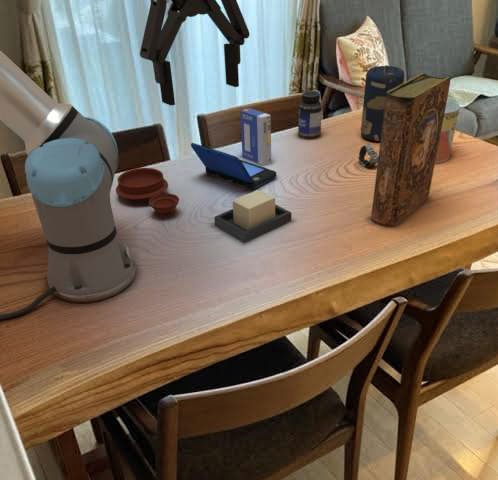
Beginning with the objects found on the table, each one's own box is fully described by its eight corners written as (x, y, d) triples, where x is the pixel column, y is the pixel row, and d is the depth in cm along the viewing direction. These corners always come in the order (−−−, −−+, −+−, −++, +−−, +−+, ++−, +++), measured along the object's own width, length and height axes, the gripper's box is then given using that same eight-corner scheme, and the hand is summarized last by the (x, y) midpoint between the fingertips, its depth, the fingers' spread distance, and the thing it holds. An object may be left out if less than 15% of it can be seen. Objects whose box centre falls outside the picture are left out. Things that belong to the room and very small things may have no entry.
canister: (401, 134, 146) (411, 62, 135) (388, 146, 140) (398, 72, 128) (368, 128, 150) (375, 58, 139) (354, 139, 144) (360, 67, 133)
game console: (279, 177, 127) (279, 139, 121) (240, 198, 120) (238, 158, 114) (231, 161, 136) (229, 124, 130) (192, 179, 128) (188, 141, 122)
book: (392, 229, 107) (411, 99, 91) (367, 221, 110) (382, 93, 94) (428, 198, 117) (451, 76, 101) (405, 191, 120) (424, 71, 104)
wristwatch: (361, 171, 132) (372, 161, 127) (355, 152, 132) (366, 142, 128) (371, 170, 133) (383, 160, 128) (365, 151, 133) (376, 140, 129)
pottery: (154, 179, 129) (152, 162, 126) (197, 210, 116) (195, 191, 113) (109, 193, 124) (105, 175, 121) (148, 227, 111) (144, 208, 108)
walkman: (242, 157, 138) (240, 109, 130) (250, 153, 139) (248, 106, 131) (263, 165, 133) (262, 116, 125) (271, 162, 134) (271, 113, 127)
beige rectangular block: (249, 231, 107) (248, 209, 104) (233, 222, 110) (232, 200, 107) (275, 219, 111) (275, 197, 108) (259, 211, 114) (258, 189, 111)
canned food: (447, 166, 129) (457, 115, 122) (399, 160, 133) (407, 111, 125) (451, 148, 137) (462, 100, 130) (406, 143, 141) (414, 96, 133)
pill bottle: (294, 133, 149) (295, 92, 142) (313, 129, 151) (315, 88, 144) (304, 141, 144) (306, 98, 137) (324, 137, 146) (327, 94, 139)
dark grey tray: (244, 243, 105) (244, 234, 104) (214, 225, 111) (214, 216, 110) (291, 220, 111) (291, 212, 110) (260, 205, 117) (260, 196, 116)
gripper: (127, -48, 70) (151, 117, 84) (269, -64, 82) (270, 82, 96) (99, -51, 75) (126, 106, 88) (238, -66, 87) (243, 74, 100)
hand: (201, 94), depth 92 cm, fingers open, 13 cm apart
